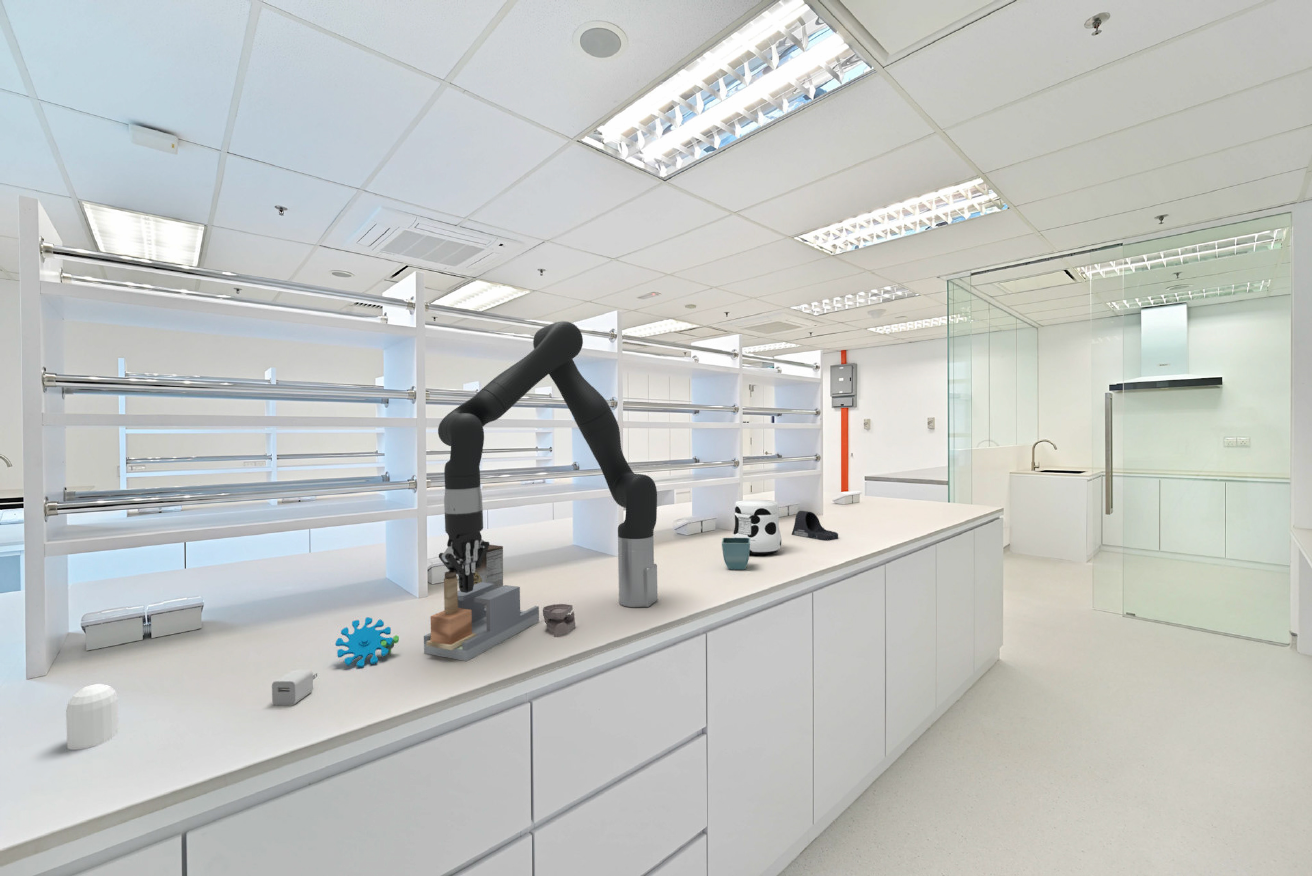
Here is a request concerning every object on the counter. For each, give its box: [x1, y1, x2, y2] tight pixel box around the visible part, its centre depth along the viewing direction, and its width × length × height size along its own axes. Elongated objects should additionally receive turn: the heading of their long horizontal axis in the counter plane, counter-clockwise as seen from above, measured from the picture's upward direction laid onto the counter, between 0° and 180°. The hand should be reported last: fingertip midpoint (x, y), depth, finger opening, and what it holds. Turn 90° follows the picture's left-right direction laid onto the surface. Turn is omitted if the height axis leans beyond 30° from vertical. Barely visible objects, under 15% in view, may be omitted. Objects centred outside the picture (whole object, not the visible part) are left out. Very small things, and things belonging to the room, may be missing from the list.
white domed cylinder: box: [65, 683, 120, 751], centre depth 82 cm, size 5×5×8 cm
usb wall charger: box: [271, 669, 318, 706], centre depth 95 cm, size 4×7×4 cm, turn 178°
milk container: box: [732, 499, 782, 555], centre depth 199 cm, size 17×17×18 cm
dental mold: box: [542, 603, 576, 638], centre depth 124 cm, size 8×7×5 cm
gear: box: [335, 616, 400, 668], centre depth 110 cm, size 11×6×10 cm
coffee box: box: [473, 544, 504, 608], centre depth 139 cm, size 9×6×16 cm
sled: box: [426, 570, 476, 650], centre depth 111 cm, size 6×7×14 cm
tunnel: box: [423, 582, 540, 662], centre depth 121 cm, size 11×24×10 cm, turn 157°
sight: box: [791, 510, 839, 542], centre depth 226 cm, size 9×18×10 cm, turn 36°
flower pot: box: [721, 537, 750, 571], centre depth 177 cm, size 9×9×9 cm
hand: (466, 591), depth 116 cm, fingers closed
